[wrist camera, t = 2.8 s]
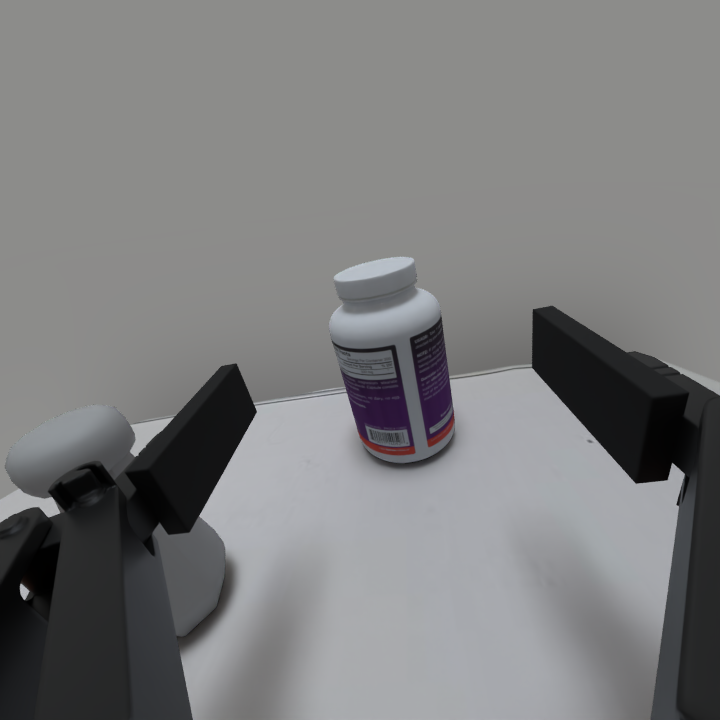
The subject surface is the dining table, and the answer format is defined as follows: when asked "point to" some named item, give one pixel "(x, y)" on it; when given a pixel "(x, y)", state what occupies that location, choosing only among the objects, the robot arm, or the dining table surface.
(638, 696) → the dining table surface
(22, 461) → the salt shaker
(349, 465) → the dining table surface
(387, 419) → the pill bottle
